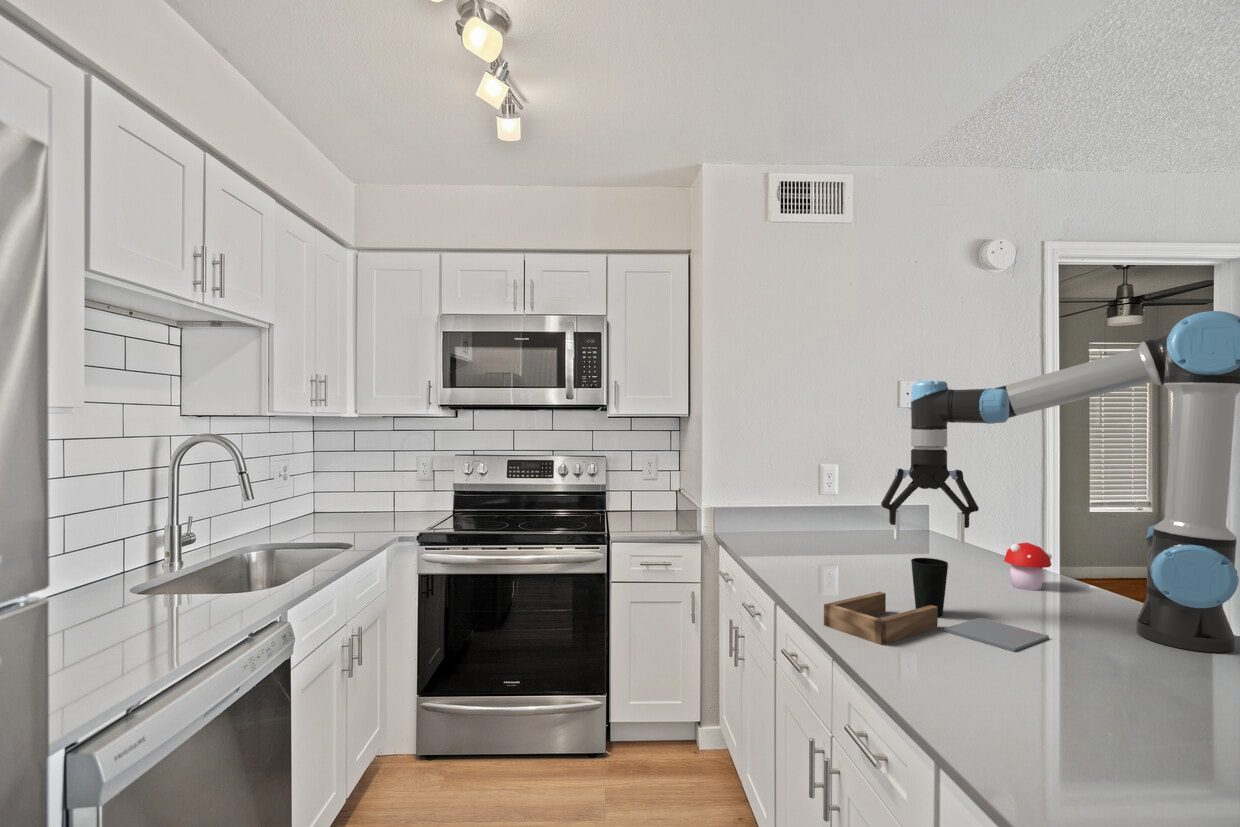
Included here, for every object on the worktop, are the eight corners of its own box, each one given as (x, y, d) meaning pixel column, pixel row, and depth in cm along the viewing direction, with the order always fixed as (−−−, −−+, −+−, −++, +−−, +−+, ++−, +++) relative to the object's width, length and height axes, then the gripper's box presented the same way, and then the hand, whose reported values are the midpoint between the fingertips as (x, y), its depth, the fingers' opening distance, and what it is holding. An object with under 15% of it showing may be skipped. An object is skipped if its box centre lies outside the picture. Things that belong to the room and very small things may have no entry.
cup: (952, 619, 143) (952, 565, 143) (915, 617, 145) (916, 564, 145) (942, 609, 151) (942, 558, 151) (907, 607, 152) (907, 556, 152)
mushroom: (1037, 582, 176) (1037, 539, 176) (1061, 593, 165) (1061, 547, 166) (996, 581, 177) (996, 538, 177) (1017, 592, 166) (1017, 546, 167)
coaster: (1048, 638, 131) (1048, 635, 131) (1014, 651, 124) (1014, 648, 124) (979, 620, 143) (979, 617, 143) (943, 631, 135) (943, 628, 135)
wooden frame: (937, 627, 138) (937, 606, 138) (881, 644, 127) (881, 621, 127) (879, 610, 149) (879, 591, 149) (823, 625, 139) (823, 604, 139)
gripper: (983, 448, 149) (983, 540, 149) (869, 446, 155) (868, 534, 155) (994, 450, 142) (994, 546, 141) (873, 448, 147) (873, 540, 147)
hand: (928, 540), depth 148 cm, fingers open, 13 cm apart
